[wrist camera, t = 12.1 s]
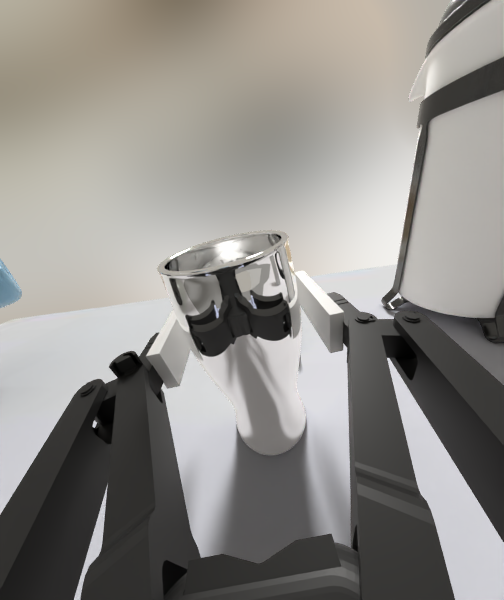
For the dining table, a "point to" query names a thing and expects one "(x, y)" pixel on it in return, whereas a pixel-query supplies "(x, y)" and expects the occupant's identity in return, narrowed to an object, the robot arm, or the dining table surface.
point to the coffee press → (458, 173)
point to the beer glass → (244, 329)
